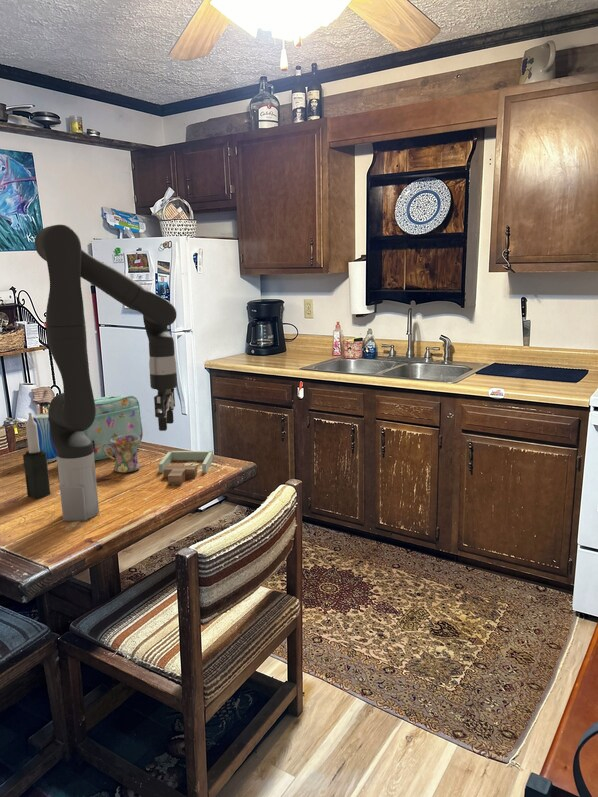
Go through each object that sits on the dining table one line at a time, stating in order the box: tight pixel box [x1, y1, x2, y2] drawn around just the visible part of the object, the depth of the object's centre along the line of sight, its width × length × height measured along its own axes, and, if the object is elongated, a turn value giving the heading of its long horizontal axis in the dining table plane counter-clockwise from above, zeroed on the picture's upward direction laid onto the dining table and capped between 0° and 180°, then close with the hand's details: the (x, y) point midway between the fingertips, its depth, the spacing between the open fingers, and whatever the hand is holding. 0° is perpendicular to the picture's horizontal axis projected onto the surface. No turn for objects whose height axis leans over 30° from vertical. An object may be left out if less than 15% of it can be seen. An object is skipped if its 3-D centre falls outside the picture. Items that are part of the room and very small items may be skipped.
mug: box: [102, 435, 141, 474], centre depth 193 cm, size 12×9×11 cm
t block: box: [162, 464, 198, 486], centre depth 185 cm, size 10×10×3 cm
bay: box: [158, 450, 214, 474], centre depth 198 cm, size 14×15×3 cm
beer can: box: [32, 412, 57, 463], centre depth 204 cm, size 8×8×16 cm
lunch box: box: [84, 394, 144, 461], centre depth 210 cm, size 27×10×21 cm, turn 147°
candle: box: [22, 412, 51, 500], centre depth 171 cm, size 5×5×25 cm
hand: (166, 426), depth 171 cm, fingers open, 7 cm apart
